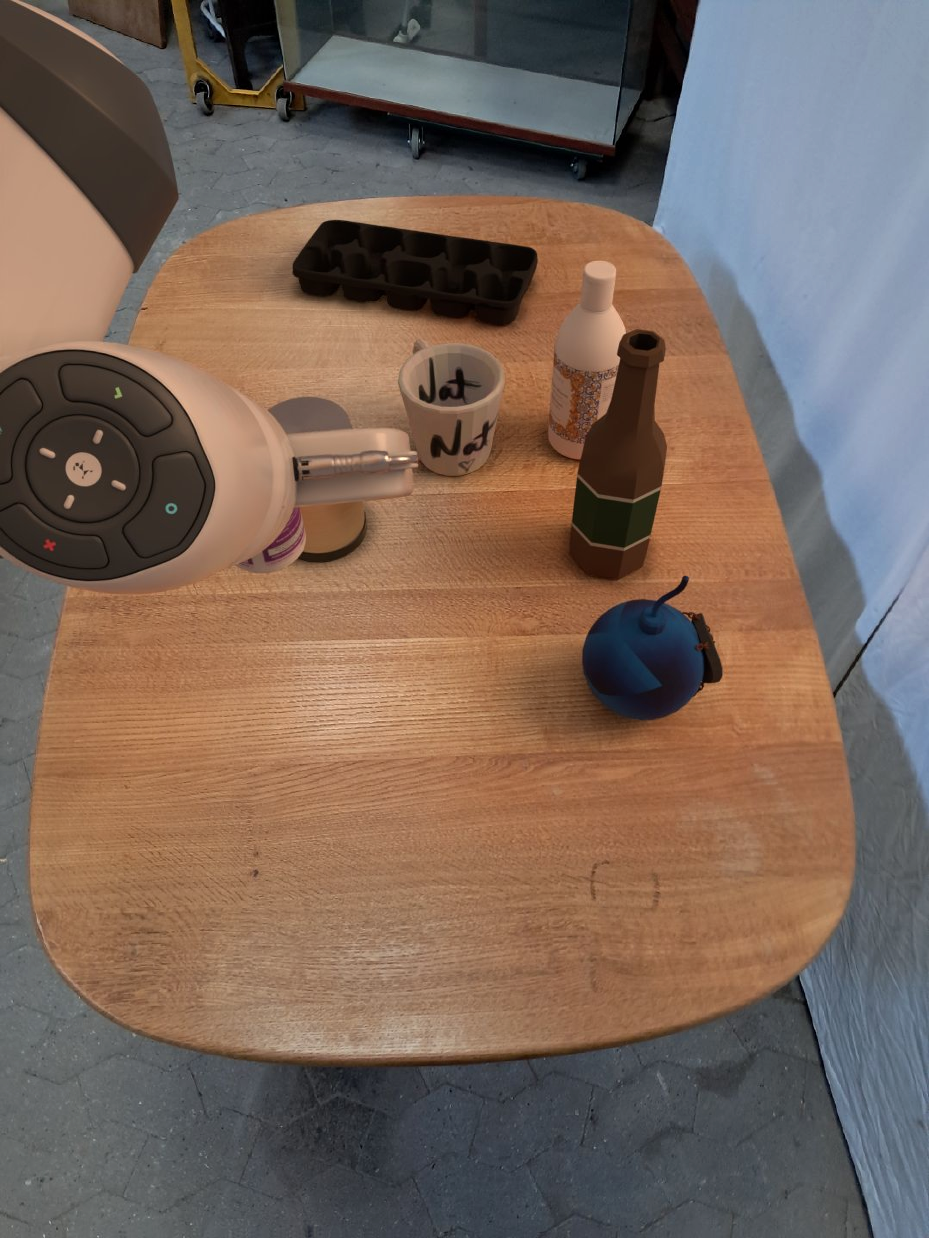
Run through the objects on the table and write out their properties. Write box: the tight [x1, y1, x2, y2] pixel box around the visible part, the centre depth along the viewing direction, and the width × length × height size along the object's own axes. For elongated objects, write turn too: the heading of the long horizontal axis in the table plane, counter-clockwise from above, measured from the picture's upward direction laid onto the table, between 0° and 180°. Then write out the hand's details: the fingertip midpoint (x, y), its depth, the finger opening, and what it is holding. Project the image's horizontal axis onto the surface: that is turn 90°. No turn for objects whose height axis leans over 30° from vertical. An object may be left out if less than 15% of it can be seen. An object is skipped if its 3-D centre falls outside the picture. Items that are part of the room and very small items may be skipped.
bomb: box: [581, 575, 724, 722], centre depth 72 cm, size 10×11×15 cm
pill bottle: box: [235, 507, 306, 575], centre depth 56 cm, size 5×5×10 cm
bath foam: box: [547, 260, 627, 460], centre depth 88 cm, size 7×7×20 cm
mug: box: [397, 339, 506, 477], centre depth 93 cm, size 10×15×10 cm
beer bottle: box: [568, 328, 668, 581], centre depth 77 cm, size 8×8×24 cm
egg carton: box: [291, 219, 539, 326], centre depth 112 cm, size 18×30×4 cm, turn 86°
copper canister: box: [266, 396, 368, 563], centre depth 84 cm, size 9×9×13 cm
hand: (249, 480), depth 56 cm, fingers closed on pill bottle, 5 cm apart
